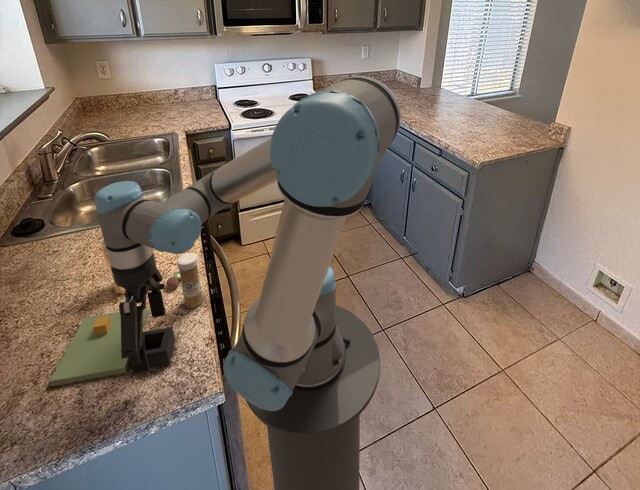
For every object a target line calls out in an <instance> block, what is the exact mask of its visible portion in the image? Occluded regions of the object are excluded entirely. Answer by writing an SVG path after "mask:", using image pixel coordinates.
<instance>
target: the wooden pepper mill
mask: <svg viewBox="0 0 640 490" xmlns="http://www.w3.org/2000/svg"><path fill="white" fill-rule="evenodd" d="M101 247H102V253H103V258H104V262H105V264H106V266H107V268H108V270H109V272H110V273H111V275H112V276H113V274H112V270H111V264H110V261H109V257H108V253H107V252H106V251H105V247H106V245H105V242H104V239H103V240H102V241H101ZM114 291H115V293H116V294H120V295H125V289H124V288H122V287H120V286H118V285H117V284H116V283H115V282H114Z"/></svg>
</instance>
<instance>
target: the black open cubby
mask: <svg viewBox="0 0 640 490" xmlns="http://www.w3.org/2000/svg"><path fill="white" fill-rule="evenodd" d="M174 332H175V331H174V327H173V326H170V327H164V328H157V329H151V330H145V331H142V343H144V346H145V350H146V354H147V358H148V363H149V367H150V368H149V369H155V368H158V367H165V366H169V365H171V361H172V356H173V352H174V349H175V348H174V347H175V344H176V336H175V333H174Z"/></svg>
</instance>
